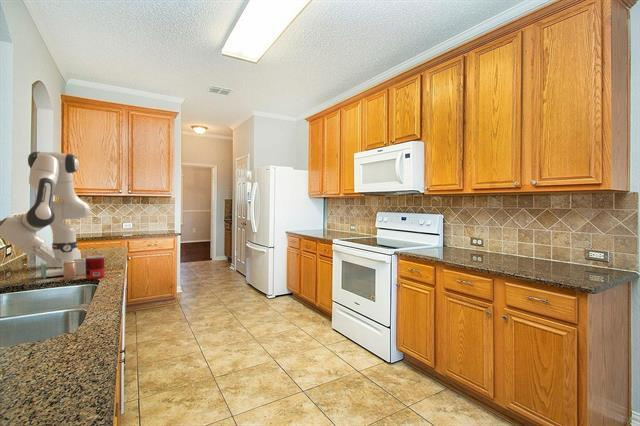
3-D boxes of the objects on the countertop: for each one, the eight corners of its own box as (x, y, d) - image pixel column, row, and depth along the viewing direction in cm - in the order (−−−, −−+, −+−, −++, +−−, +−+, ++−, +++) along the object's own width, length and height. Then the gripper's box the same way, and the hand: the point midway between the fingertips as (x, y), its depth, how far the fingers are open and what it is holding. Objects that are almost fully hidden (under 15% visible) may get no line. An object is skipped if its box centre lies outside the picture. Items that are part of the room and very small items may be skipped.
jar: (62, 279, 165) (62, 261, 165) (74, 277, 168) (74, 260, 168) (64, 280, 162) (64, 262, 161) (76, 279, 165) (76, 261, 165)
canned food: (108, 276, 172) (107, 255, 171) (96, 279, 164) (95, 257, 163) (94, 275, 172) (94, 254, 172) (82, 279, 164) (81, 257, 164)
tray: (41, 275, 170) (40, 262, 170) (64, 272, 178) (64, 259, 178) (44, 278, 164) (43, 264, 164) (68, 275, 172) (68, 262, 171)
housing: (62, 273, 178) (61, 260, 177) (84, 270, 185) (84, 258, 185) (66, 276, 170) (66, 263, 170) (89, 273, 178) (89, 260, 177)
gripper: (39, 242, 149) (67, 261, 156) (40, 239, 165) (65, 256, 172) (26, 253, 147) (55, 272, 153) (28, 248, 162) (54, 265, 169)
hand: (60, 263), depth 163 cm, fingers open, 8 cm apart
